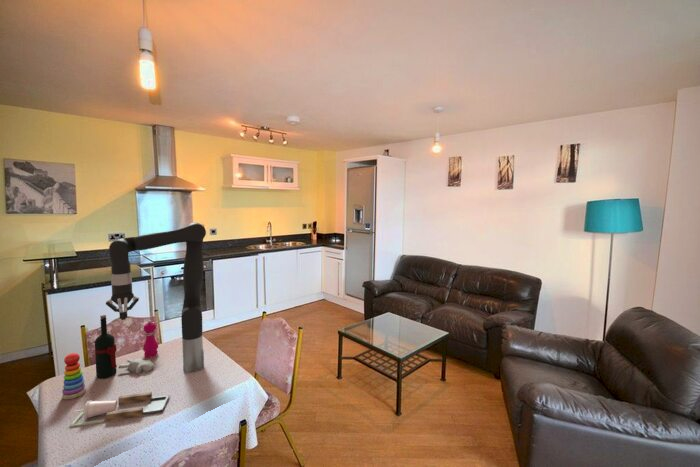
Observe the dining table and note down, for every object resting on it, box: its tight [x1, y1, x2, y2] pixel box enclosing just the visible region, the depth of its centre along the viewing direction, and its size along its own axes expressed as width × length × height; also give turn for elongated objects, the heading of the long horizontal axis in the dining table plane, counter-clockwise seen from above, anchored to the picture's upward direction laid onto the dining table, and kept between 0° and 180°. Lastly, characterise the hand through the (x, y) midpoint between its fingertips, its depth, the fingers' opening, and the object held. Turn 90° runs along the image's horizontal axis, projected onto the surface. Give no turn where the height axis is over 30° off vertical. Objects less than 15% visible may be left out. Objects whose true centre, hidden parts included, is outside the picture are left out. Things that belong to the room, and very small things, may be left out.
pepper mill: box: [142, 319, 159, 358], centre depth 174 cm, size 7×7×20 cm
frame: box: [68, 411, 106, 428], centre depth 125 cm, size 11×12×1 cm
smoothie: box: [71, 400, 118, 420], centre depth 124 cm, size 6×6×14 cm
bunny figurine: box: [118, 357, 155, 374], centre depth 159 cm, size 10×5×15 cm
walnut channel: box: [105, 391, 153, 423], centre depth 129 cm, size 12×12×3 cm
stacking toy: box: [61, 352, 87, 400], centre depth 137 cm, size 8×8×19 cm
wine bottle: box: [94, 314, 118, 380], centre depth 152 cm, size 8×10×30 cm
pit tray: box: [143, 394, 170, 416], centre depth 131 cm, size 7×10×1 cm
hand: (123, 319), depth 145 cm, fingers closed
